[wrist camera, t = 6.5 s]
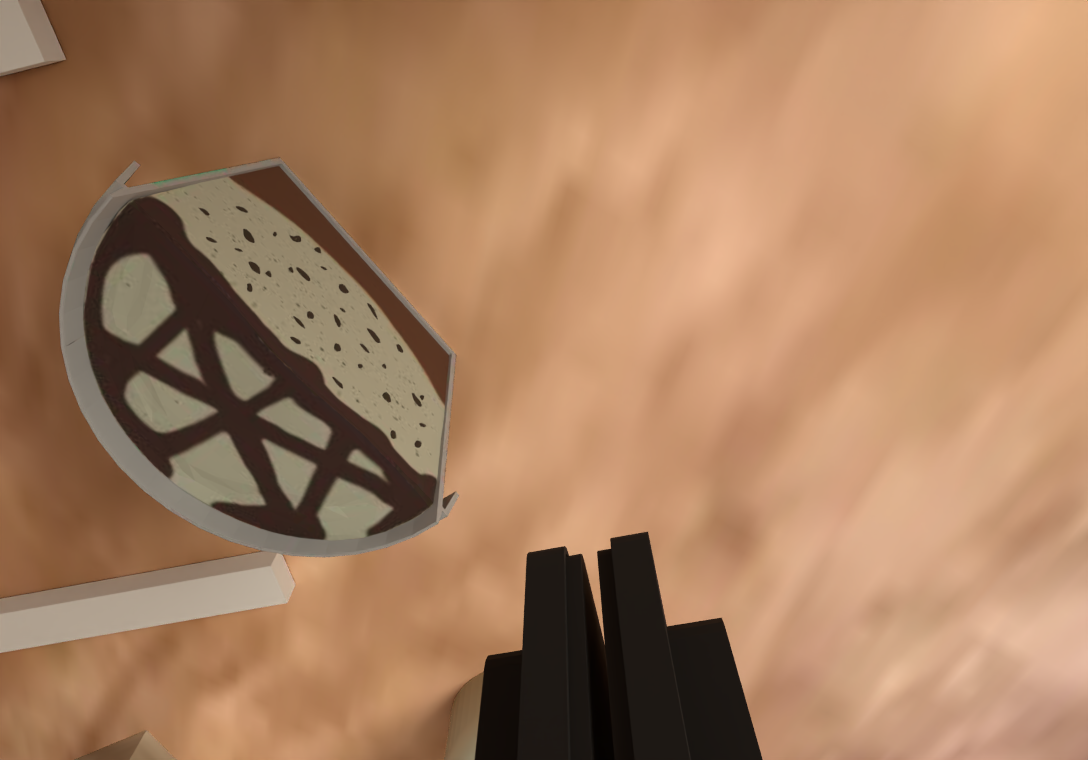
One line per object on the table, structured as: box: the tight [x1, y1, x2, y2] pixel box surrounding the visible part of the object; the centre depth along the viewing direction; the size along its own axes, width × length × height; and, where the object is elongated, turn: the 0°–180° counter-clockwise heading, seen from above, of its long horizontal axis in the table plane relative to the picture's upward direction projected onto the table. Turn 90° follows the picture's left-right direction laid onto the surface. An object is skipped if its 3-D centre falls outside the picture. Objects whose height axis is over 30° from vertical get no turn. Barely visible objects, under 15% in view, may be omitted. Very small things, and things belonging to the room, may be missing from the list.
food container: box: [59, 157, 459, 557], centre depth 25 cm, size 12×6×10 cm, turn 38°
